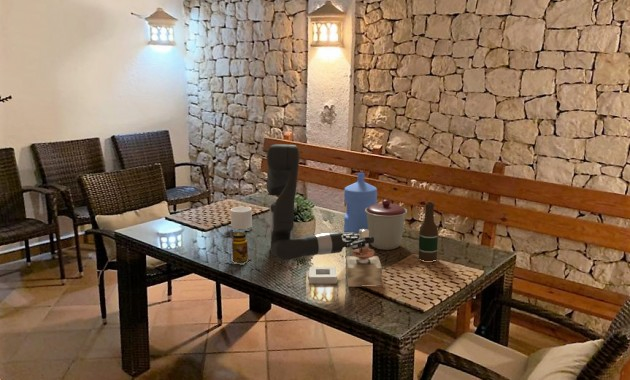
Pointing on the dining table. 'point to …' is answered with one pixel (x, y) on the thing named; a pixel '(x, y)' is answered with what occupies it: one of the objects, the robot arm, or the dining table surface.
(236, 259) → the condiment
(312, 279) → the pin stand
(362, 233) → the pin
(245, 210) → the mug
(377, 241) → the canister
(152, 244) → the dining table surface
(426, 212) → the beer bottle
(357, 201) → the water jug
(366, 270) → the block
